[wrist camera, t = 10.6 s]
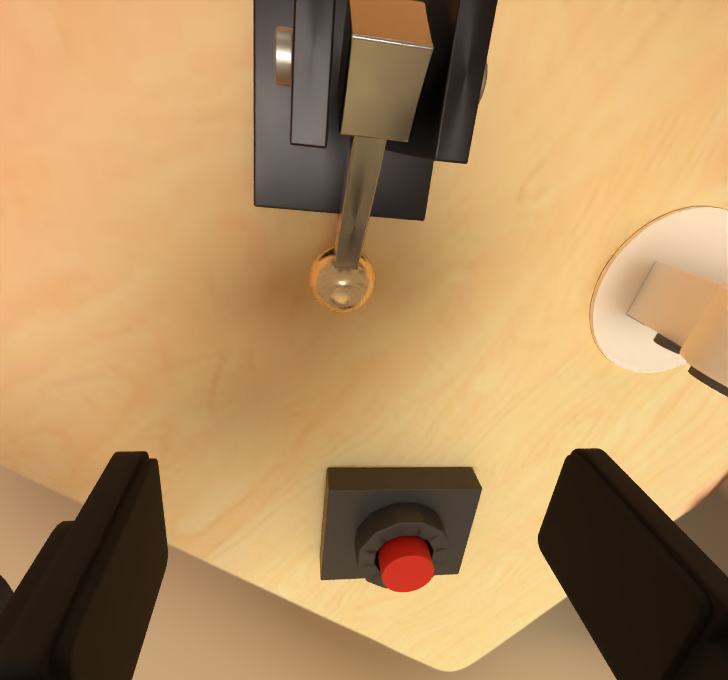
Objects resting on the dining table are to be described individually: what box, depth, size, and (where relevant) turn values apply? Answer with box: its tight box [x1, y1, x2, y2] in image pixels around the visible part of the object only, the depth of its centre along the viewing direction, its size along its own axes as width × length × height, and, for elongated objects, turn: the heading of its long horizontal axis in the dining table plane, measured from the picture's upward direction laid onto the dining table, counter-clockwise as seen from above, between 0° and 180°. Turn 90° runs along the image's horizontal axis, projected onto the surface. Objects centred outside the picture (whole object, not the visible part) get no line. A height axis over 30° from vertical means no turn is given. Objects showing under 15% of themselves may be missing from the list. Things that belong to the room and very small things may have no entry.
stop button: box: [378, 536, 434, 592], centre depth 30 cm, size 4×4×2 cm
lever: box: [309, 0, 435, 312], centre depth 17 cm, size 13×3×3 cm
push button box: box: [320, 468, 482, 588], centre depth 32 cm, size 11×9×4 cm
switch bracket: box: [253, 0, 498, 221], centre depth 16 cm, size 11×9×12 cm
